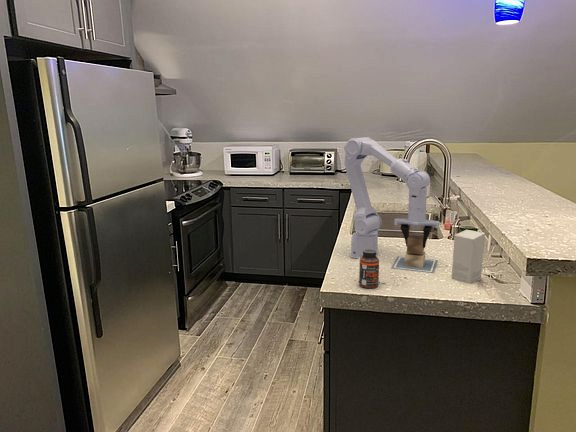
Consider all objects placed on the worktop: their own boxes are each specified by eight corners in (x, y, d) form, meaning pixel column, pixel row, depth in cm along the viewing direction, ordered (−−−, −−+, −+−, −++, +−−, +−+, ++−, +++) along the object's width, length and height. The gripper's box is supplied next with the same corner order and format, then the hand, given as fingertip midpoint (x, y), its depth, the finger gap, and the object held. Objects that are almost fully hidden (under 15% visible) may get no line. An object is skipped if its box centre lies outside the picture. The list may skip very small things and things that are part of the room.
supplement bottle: (366, 290, 136) (366, 254, 133) (355, 283, 141) (355, 249, 139) (382, 287, 138) (383, 252, 136) (371, 280, 143) (372, 246, 141)
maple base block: (404, 265, 153) (405, 254, 152) (407, 260, 159) (407, 249, 158) (422, 267, 151) (423, 256, 150) (424, 262, 156) (425, 251, 155)
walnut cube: (406, 252, 152) (407, 238, 151) (409, 248, 157) (409, 234, 156) (421, 254, 150) (422, 240, 149) (423, 250, 155) (424, 236, 154)
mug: (407, 197, 280) (407, 182, 278) (413, 194, 288) (414, 180, 286) (425, 198, 273) (426, 184, 271) (431, 196, 281) (432, 181, 279)
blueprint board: (390, 271, 152) (390, 268, 151) (397, 258, 164) (397, 255, 164) (433, 276, 146) (434, 272, 146) (437, 262, 159) (437, 259, 158)
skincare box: (462, 275, 146) (466, 228, 143) (483, 280, 142) (486, 232, 138) (450, 281, 141) (453, 234, 137) (470, 287, 136) (474, 238, 133)
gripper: (393, 208, 150) (392, 247, 153) (438, 211, 144) (436, 251, 147) (396, 204, 156) (395, 242, 159) (440, 207, 150) (438, 245, 153)
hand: (415, 246), depth 153 cm, fingers closed on walnut cube, 5 cm apart
